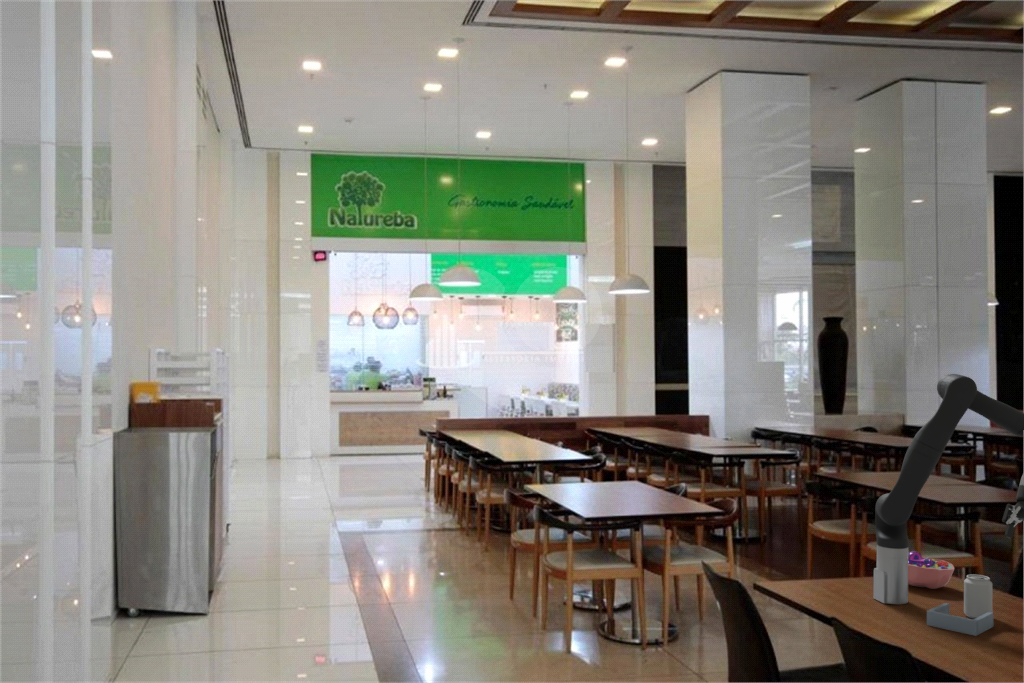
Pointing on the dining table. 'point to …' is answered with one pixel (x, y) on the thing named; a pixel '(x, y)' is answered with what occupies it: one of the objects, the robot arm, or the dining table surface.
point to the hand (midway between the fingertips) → (1020, 538)
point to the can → (977, 595)
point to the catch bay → (958, 621)
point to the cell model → (928, 571)
